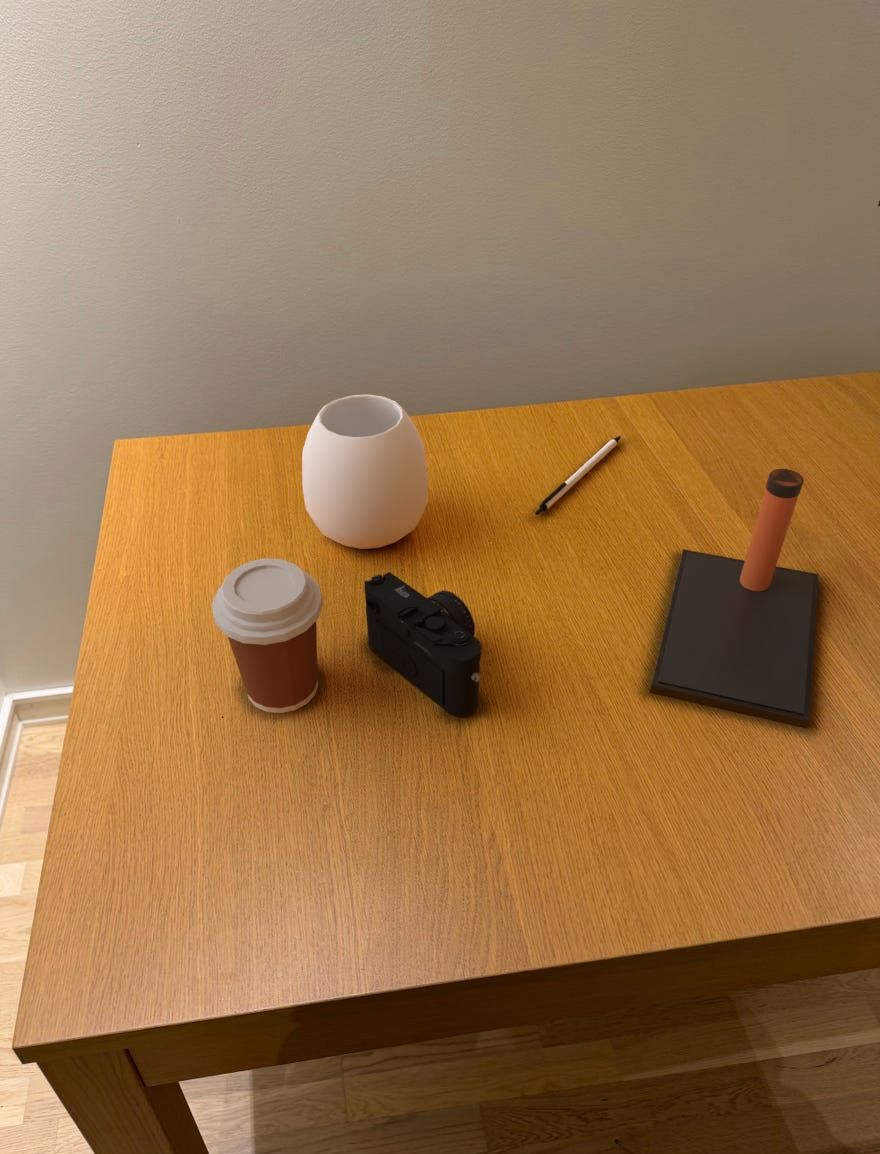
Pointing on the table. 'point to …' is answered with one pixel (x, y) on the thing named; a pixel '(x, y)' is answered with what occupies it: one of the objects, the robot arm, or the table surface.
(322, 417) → the white vase
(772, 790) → the table surface
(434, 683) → the camera
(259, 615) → the coffee cup
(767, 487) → the orange cylinder
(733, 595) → the plate
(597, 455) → the pen
